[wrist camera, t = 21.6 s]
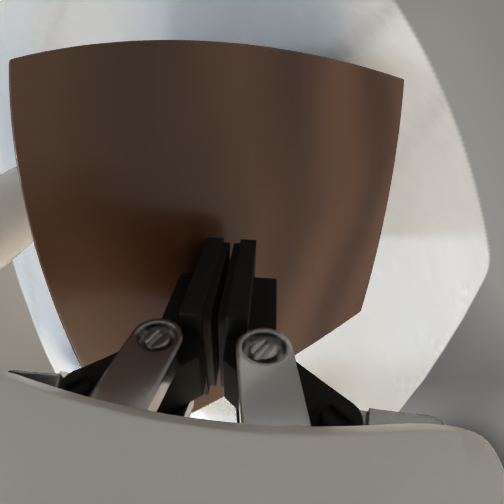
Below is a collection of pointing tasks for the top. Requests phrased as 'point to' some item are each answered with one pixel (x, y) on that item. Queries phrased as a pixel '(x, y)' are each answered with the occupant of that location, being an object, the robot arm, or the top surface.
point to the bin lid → (200, 178)
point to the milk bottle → (12, 218)
